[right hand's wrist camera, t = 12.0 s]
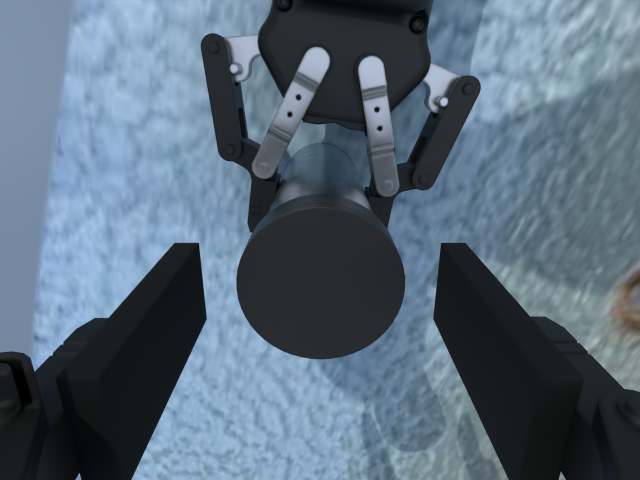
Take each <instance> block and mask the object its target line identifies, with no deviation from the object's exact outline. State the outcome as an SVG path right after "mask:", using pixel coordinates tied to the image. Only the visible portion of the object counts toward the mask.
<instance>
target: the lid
mask: <svg viewBox="0 0 640 480" xmlns="http://www.w3.org/2000/svg"><path fill="white" fill-rule="evenodd" d="M404 291H405V274H404V268H403V264H402V261H401V258H400V255H399V253H398V251H397V249H396V247H395V244H394V242H393V240H392V238H391V236H390V234H389V232H388V230H387V229H386V227H385V226H384V224H383V223H382V222H381V221H380V220H379V218H378V217H377V216H376V215H375V214H373V213H372V212H371V211H370V210H369V209H367V208H366V207H364V206H362V205H361V204H359V203H357V202H355V201H353V200H350V199H347V198H344V197H341V196H336V195H329V194H313V195H306V196H301V197H297V198H294V199H291V200H289V201H287V202H285V203H283V204H281V205H279V206H277V207H276V208H274V209H273V210H272V211H270V212H269V213H268V214H267V215H266V216H265V217H264V218H263V219H262V220H261V221H260V222H259V224H258V225H257V226H256V228H255V229H254V231H253V233H252V235H251V237H250V239H249V241H248V243H247V246H246V248H245V250H244V252H243V255H242V257H241V259H240V263H239V266H238V271H237V294H238V299H239V303H240V306H241V309H242V311H243V313H244V315H245V317H246V319H247V320H248V322H249V323H250V325H251V326H252V327H253V329H254V330H255V331H256V332H257V333H258V334H259V335H260V336H261V337H262V338H263V339H264V340H266V341H267V342H268V343H270V344H271V345H273V346H274V347H276V348H278V349H280V350H282V351H284V352H287V353H289V354H292V355H295V356H299V357H304V358H310V359H332V358H338V357H343V356H346V355H349V354H353V353H355V352H357V351H360V350H362V349H363V348H365V347H367V346H369V345H370V344H372V343H373V342H374V341H376V340H377V339H378V338H379V337H380V336H382V335H383V334H384V333H385V332H386V330H387V329H388V328H389V327H390V326H391V324H392V323H393V321H394V319H395V318H396V316H397V314H398V312H399V310H400V307H401V304H402V301H403V297H404Z"/></svg>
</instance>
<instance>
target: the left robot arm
mask: <svg viewBox="0 0 640 480" xmlns="http://www.w3.org/2000/svg"><path fill="white" fill-rule="evenodd" d="M432 4H433V0H272V6H271V10H270V13H269V15H268V17H267V19H266V21H265V22H264V24H263V25H262V27H261V29H260V31H259V34H256V35H246V36H236V37H222V36H220V35H218V34H214V33H211V34H208V35H206V36H205V37H204V38H203V40H202V42H201V51H202V57H203V63H204V69H205V75H206V81H207V87H208V93H209V99H210V105H211V111H212V117H213V123H214V129H215V135H216V141H217V147H218V152H219V154H220V156H221V157H222V158H223V159H224V160H227V161H233V162H235V163H237V164H239V165H241V166H243V167H244V168H246V169H247V170H248V171H249V173H250V175H251V179H252V183H251V193H250V203H249V214H248V226H249V230H250V232H252V233H253V231H254V229H255V228H256V226H257V225H258V224H259V222H260V221H261V220H262V219H263V218H264V217H265V216H266V215H267V214H268V213H269V210H270V208H271V205H272V203H273V200H274V198H275V195H276V193H277V190H278V188H279V185H280V177H281V174H278V173H277V172H278V164H279V162H280V160H281V158H282V156H283V154H284V153H285V151H286V149H287V147H288V145H289V143H290V141H291V139H292V137H293V135H294V133H295V131H296V129H297V127H298V125H299V123H300V122H301V120H303V122H305V123H312V124H326V123H336V124H339V125H341V126H343V127H345V128H348V129H351V130H358V131H363V136H364V142H365V146H366V150H367V156H368V162H369V167H370V173H371V181H370V186H369V187H365V191H364V192H365V194H366V197H367V199H368V202H369V204H370V207H371V209H372V212H373V214H375V215H376V216H377V217H378V218H379V220H380V221H381V222H382V223H383V224H384V226H385V227H386V229H387V227H388V223H389V218H390V213H391V208H392V204H393V200H394V198H395V197H396V196H397V195H398V194H399V193H401V192H403V191H407V190H412V189H419V190H427V189H429V188H431V187H432V186H433V184H434V183H435V181H436V179H437V177H438V175H439V173H440V171H441V169H442V167H443V165H444V163H445V161H446V159H447V157H448V155H449V153H450V151H451V149H452V147H453V145H454V143H455V141H456V139H457V137H458V135H459V133H460V131H461V129H462V127H463V125H464V123H465V121H466V119H467V117H468V115H469V113H470V111H471V109H472V107H473V105H474V103H475V101H476V99H477V97H478V95H479V93H480V89H481V86H480V82H479V80H478V79H477V78H476V77H474V76H467V75H458V74H455V73H453V72H451V71H449V70H447V69H444V68H442V67H440V66H438V65H436V64H433V63H431V56H430V52H429V49H428V44H427V28H428V23H429V18H430V13H431V9H432ZM259 56H262V58H263V60H264V62H265V64H266V66H267V68H268V70H269V72H270V73H271V75H272V77H273V79H274V81H275V83H276V85H277V87H278V89H279V91H280V93H281V95H282V96H283V98H284V99H283V101H282V103H281V105H280V107H279V109H278V111H277V113H276V115H275V117H274V119H273V121H272V123H271V125H270V127H269V130H268V132H267V134H266V136H265V138H264V141H263V143H262V145H260V144H258V143H256V142H254V141H252V140H251V139H249V138H248V132H247V125H246V118H245V111H244V104H243V97H242V90H241V83H240V82H244V81H246V80H247V79H249V77H250V76H251V72H252V64H253V61H254V60H255V59H256V58H257V57H259ZM421 82H422V83H423V84H424V86H425V88H426V95H425V99H424V104H425V107H426V108H427V110H429V111H430V114H429V116H428V118H427V121H426V123H425V125H424V127H423V129H422V131H421V133H420V135H419V137H418V140H417V142H416V144H415V146H414V148H413V150H412V152H411V154H410V157H409V159H408V161H407V162H406V163H401V164H396V158H395V142H394V136H393V129H392V122H391V115H390V113H391V112H392V111H393V110H394V109H395V108H396V107H397V106H398V105H399V104H400V103H401V102H402V101H403V100H404V99H405V98H406V97H407V96H408V95H409V94H410V93H411V92H412V91H413V90H414V89H415V88H416V87H417V86H418V85H419V84H420V83H421Z"/></svg>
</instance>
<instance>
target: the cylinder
mask: <svg viewBox="0 0 640 480" xmlns="http://www.w3.org/2000/svg"><path fill="white" fill-rule="evenodd" d="M313 194H329V195H336V196H341V197H344V198H347V199H350V200H353V201H355V202H357V203H359V204H361V205H362V206H364V207H366V208H367V209H369V210H370V211H371V212H372V209H371V207H370V204H369V202H368V199H367V197H366V194H365V192H364V189H363V187H362V184H361V182H360V179H359V177H358V174H357V172H356V169H355V167H354V164H353V162H352V161H351V159H350V158H349V156H348V155H347V154H346V153H345V152H344V151H342V150H341V149H339V148H338V147H336V146H333V145H330V144H324V143H317V144H311V145H308V146H306V147H304V148H302V149H300V150H299V151H298V152H297V153H296V154H294V156H293V157H292V158H291V160H290V161H289V163H288V165H287V168H286V170H285V173H284V175H283V178H282V180H281V183H280V185H279V188H278V190H277V193H276V195H275V198H274V200H273V203H272V205H271V208H270V210H269V212H270V211H272V210H273V209H274V208H276V207H277V206H279V205H281V204H283V203H285V202H287V201H289V200H291V199H294V198H297V197H301V196H306V195H313ZM372 213H373V212H372Z"/></svg>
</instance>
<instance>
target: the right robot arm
mask: <svg viewBox="0 0 640 480" xmlns="http://www.w3.org/2000/svg"><path fill="white" fill-rule="evenodd" d="M206 319H207V317H206V307H205V298H204V288H203V279H202V269H201V259H200V250H199V243H174V244H173V245H172V247H171V248H170V249H169V250H168V251H167V252H166V253H165V254H164V256H163V257H162V258H161V259H160V260H159V261H158V262H157V264H156V265H155V266H154V267H153V268H152V269H151V270H150V272H149V273H148V274H147V275H146V276H145V277H144V278H143V280H142V281H141V282H140V283H139V284H138V285H137V286H136V287H135V289H134V290H133V291H132V292H131V293H130V294H129V295H128V297H127V298H126V299H125V300H124V301H123V302H122V303H121V305H120V306H119V307H118V308H117V309H116V310H115V311H114V312H113V314H112V315H111V316H110V317H109V318H94V319H93V320H91V321H89V322H88V323H86V324H84V325H82V326H81V327H79V328H77V329H76V330H75V331H74V332H73V333H72V334H71V335H70V336H69V337H68V338H67V339H66V340H65V341H64V342H63V343H64V344H63V345H60V346H59V347H58V348H57V349H56V350H55V351H54V353H53V356H50V357H49V358H48V359H47V360H46V361H45V362H44V363H43V364H42V365H41V366H40V367H39V368H38V369H37V370H36V371H35V372H34V369H33V365H32V362H31V358H30V357H28V356H27V355H25V354H24V353H19V352H2V353H0V480H75V479H76V478H77V476H78V474H79V473H80V476H81V480H131V479H132V477H133V475H134V473H135V471H136V468H137V466H138V464H139V462H140V460H141V458H142V456H143V454H144V451H145V449H146V447H147V445H148V443H149V441H150V439H151V436H152V434H153V432H154V430H155V428H156V426H157V424H158V422H159V419H160V417H161V415H162V413H163V411H164V409H165V407H166V405H167V402H168V400H169V398H170V396H171V394H172V392H173V390H174V388H175V385H176V383H177V381H178V379H179V377H180V375H181V373H182V370H183V368H184V366H185V364H186V362H187V360H188V358H189V356H190V353H191V351H192V349H193V347H194V345H195V343H196V341H197V339H198V336H199V334H200V332H201V330H202V328H203V326H204V324H205V321H206ZM433 319H434V321H435V324H436V326H437V328H438V330H439V332H440V334H441V336H442V339H443V341H444V343H445V345H446V347H447V349H448V351H449V353H450V356H451V358H452V360H453V362H454V364H455V366H456V368H457V370H458V373H459V375H460V377H461V379H462V381H463V383H464V385H465V388H466V390H467V392H468V394H469V396H470V398H471V400H472V402H473V405H474V407H475V409H476V411H477V413H478V415H479V417H480V419H481V422H482V424H483V426H484V428H485V430H486V432H487V434H488V436H489V439H490V441H491V443H492V445H493V447H494V449H495V451H496V454H497V456H498V458H499V460H500V462H501V464H502V466H503V468H504V471H505V473H506V475H507V477H508V479H509V480H559V476H560V472H562V474H563V475H564V477H565V479H566V480H640V392H638V391H634V390H628V389H624V388H623V387H622V386H621V385H620V384H619V383H618V382H617V381H616V380H615V379H614V378H613V377H612V376H611V375H610V374H609V373H608V372H607V371H606V370H605V369H604V368H603V367H602V366H601V365H600V364H599V363H598V362H597V361H596V360H595V359H594V358H593V357H592V356H591V355H590V354H588V353H587V350H586V349H585V348H584V347H583V346H582V345H581V344H580V343H577V340H576V339H575V338H574V337H573V336H572V335H571V334H570V333H569V332H568V331H567V330H566V329H565V328H564V327H562V326H560V325H559V324H557V323H555V322H554V321H552V320H550V319H548V318H547V317H530V316H529V315H528V314H527V312H526V311H525V310H524V309H523V308H522V307H521V306H520V305H519V303H518V302H517V301H516V300H515V299H514V298H513V297H512V295H511V294H510V293H509V292H508V291H507V290H506V289H505V287H504V286H503V285H502V284H501V283H500V282H499V281H498V280H497V278H496V277H495V276H494V275H493V274H492V273H491V272H490V270H489V269H488V268H487V267H486V266H485V265H484V264H483V262H482V261H481V260H480V259H479V258H478V257H477V256H476V254H475V253H474V252H473V251H472V250H471V249H470V248H469V247H468V245H467V244H466V243H441V250H440V259H439V269H438V279H437V288H436V298H435V307H434V317H433Z"/></svg>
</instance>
